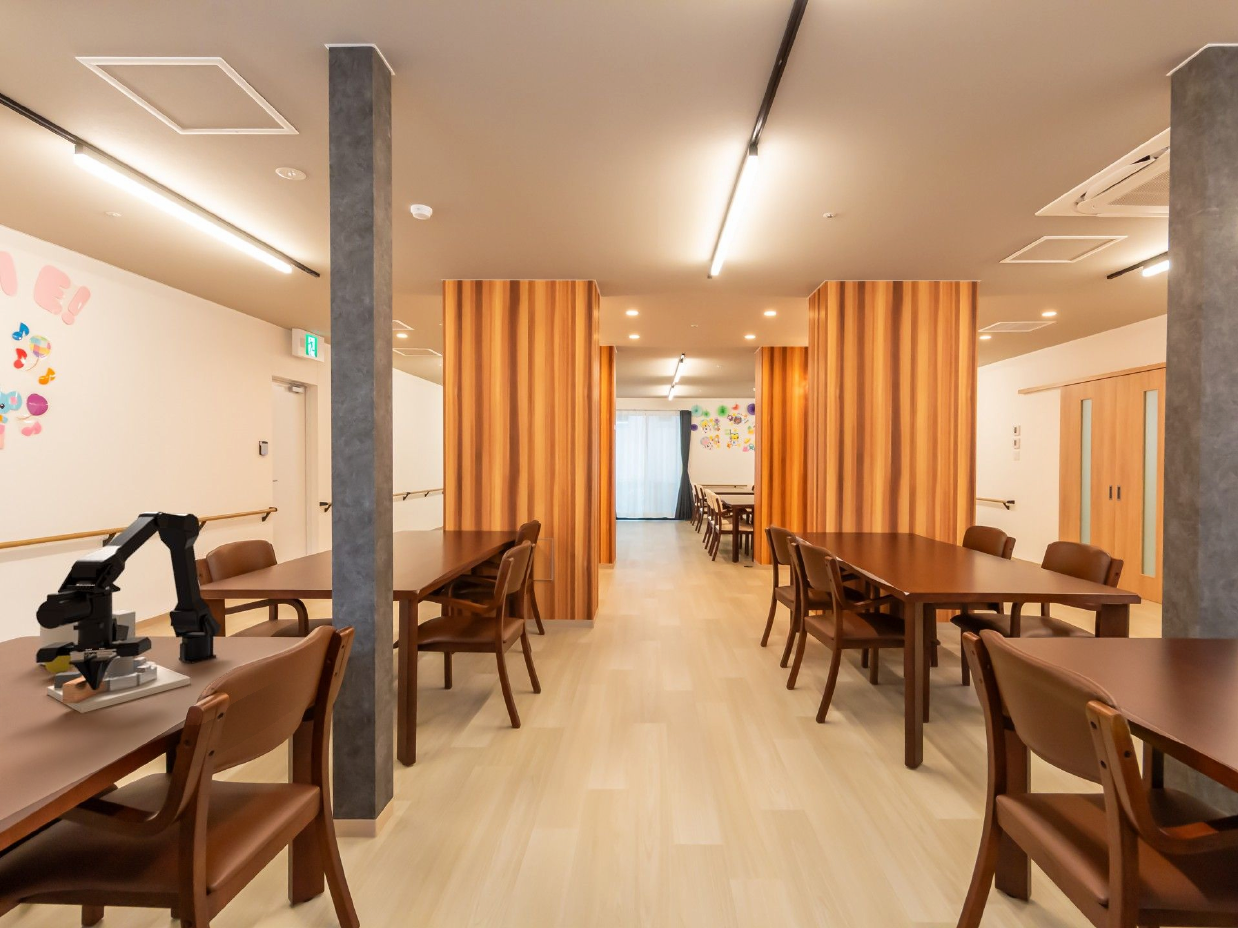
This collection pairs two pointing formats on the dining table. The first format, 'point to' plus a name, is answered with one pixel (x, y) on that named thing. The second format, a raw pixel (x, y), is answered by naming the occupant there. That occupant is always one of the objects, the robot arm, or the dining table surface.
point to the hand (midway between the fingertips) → (95, 689)
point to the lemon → (59, 664)
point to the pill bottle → (58, 635)
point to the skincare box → (125, 621)
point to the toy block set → (110, 681)
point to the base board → (118, 668)
